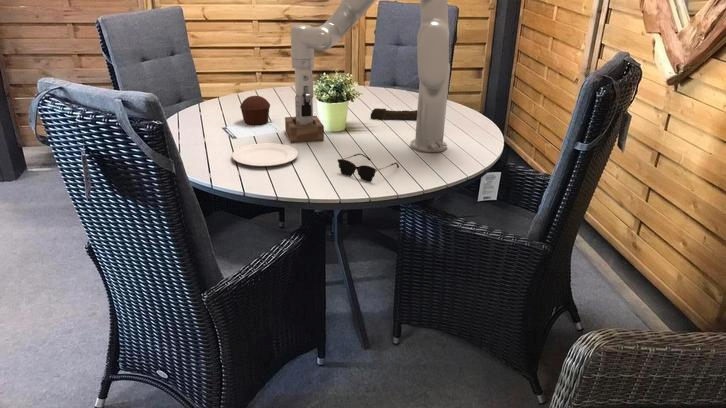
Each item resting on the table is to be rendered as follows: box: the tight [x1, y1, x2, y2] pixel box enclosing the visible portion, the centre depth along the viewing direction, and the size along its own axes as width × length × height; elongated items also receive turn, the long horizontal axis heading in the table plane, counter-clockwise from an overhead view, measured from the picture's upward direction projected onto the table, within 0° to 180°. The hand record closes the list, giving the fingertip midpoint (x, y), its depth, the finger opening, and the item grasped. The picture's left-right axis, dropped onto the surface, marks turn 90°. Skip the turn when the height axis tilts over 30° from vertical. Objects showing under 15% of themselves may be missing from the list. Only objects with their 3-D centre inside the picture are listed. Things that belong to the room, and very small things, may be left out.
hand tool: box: [370, 108, 417, 122], centre depth 216 cm, size 19×4×5 cm, turn 91°
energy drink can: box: [294, 93, 314, 125], centre depth 190 cm, size 6×6×15 cm
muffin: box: [239, 95, 271, 127], centre depth 205 cm, size 12×11×10 cm
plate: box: [231, 142, 299, 168], centre depth 172 cm, size 21×21×2 cm
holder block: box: [284, 115, 325, 144], centre depth 192 cm, size 14×12×6 cm
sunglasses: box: [337, 153, 400, 183], centre depth 165 cm, size 14×16×5 cm
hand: (303, 112), depth 190 cm, fingers open, 9 cm apart
